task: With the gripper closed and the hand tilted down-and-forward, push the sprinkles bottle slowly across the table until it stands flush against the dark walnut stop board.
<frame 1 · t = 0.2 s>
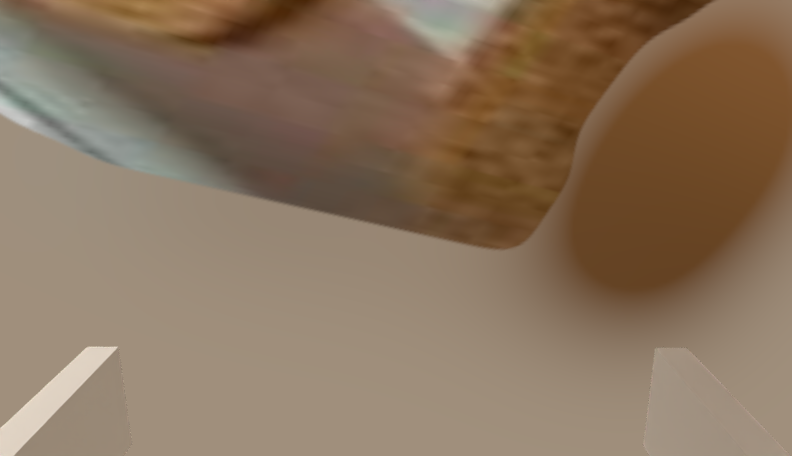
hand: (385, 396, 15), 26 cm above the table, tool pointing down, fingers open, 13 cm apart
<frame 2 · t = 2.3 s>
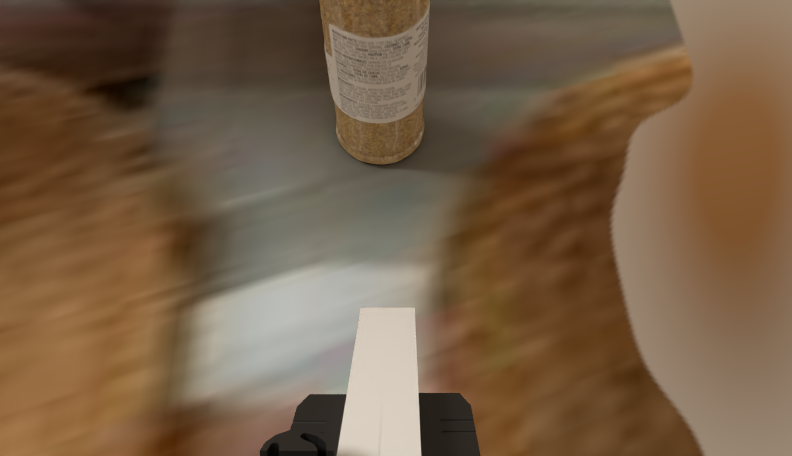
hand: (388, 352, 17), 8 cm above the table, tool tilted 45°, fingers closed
sprinkles bottle: (380, 134, 31), on the table
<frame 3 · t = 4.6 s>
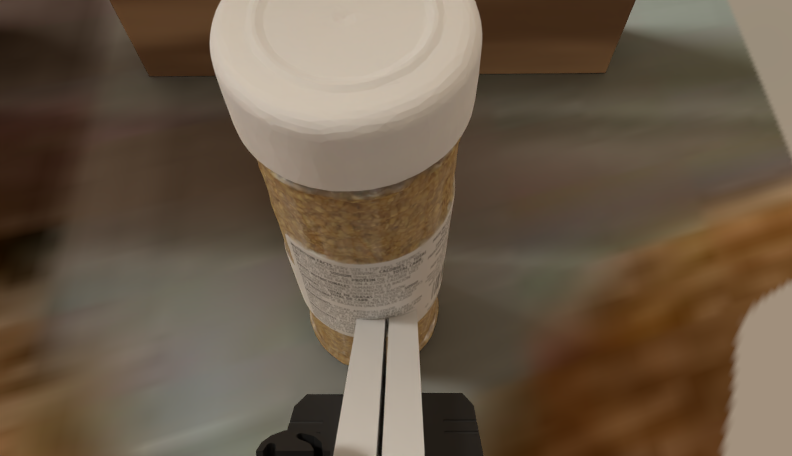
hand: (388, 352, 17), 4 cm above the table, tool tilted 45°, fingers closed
sprinkles bottle: (375, 313, 22), on the table, touching gripper
walnut stop board: (377, 49, 28), on the table
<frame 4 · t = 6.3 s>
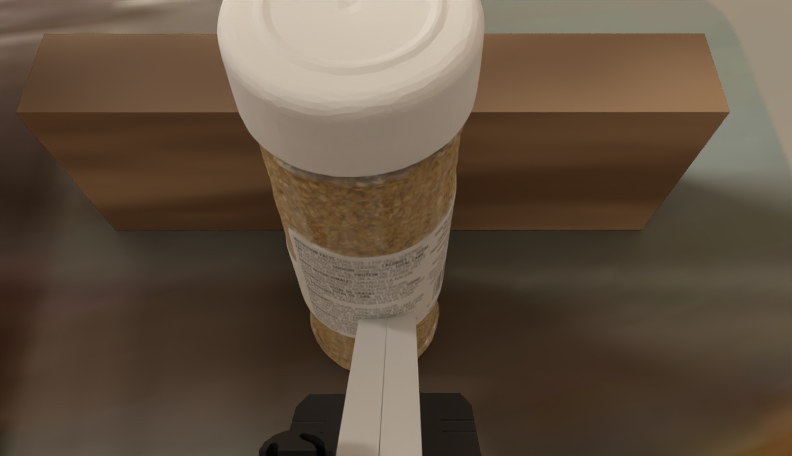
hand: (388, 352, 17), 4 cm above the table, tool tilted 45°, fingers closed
sprinkles bottle: (375, 319, 22), on the table, touching gripper
walnut stop board: (379, 196, 24), on the table
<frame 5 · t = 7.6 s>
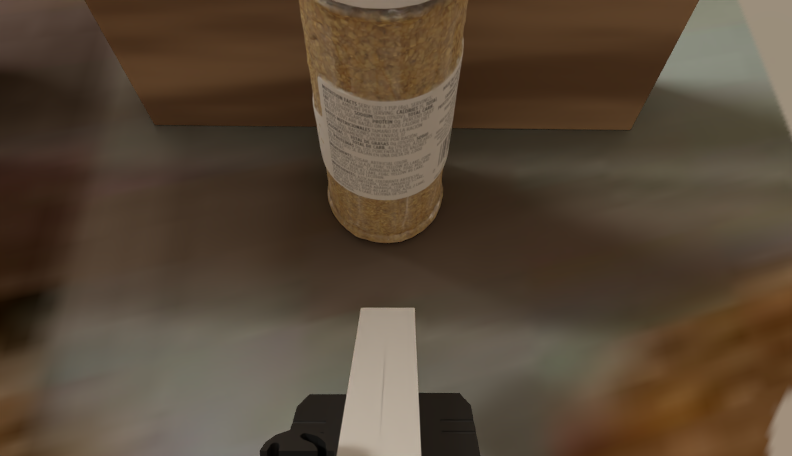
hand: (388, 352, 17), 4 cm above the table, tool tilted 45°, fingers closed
sprinkles bottle: (385, 199, 24), on the table
walnut stop board: (391, 99, 27), on the table
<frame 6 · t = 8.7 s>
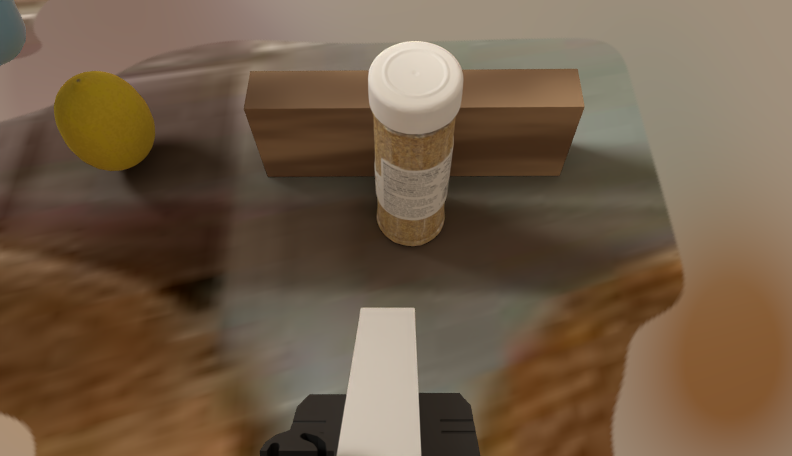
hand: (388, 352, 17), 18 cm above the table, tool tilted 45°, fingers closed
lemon: (132, 161, 44), on the table
sprinkles bottle: (410, 220, 41), on the table
walnut stop board: (412, 158, 43), on the table
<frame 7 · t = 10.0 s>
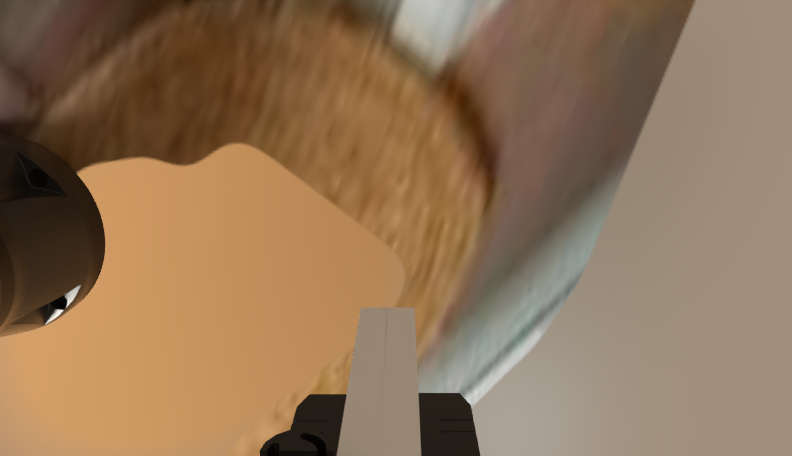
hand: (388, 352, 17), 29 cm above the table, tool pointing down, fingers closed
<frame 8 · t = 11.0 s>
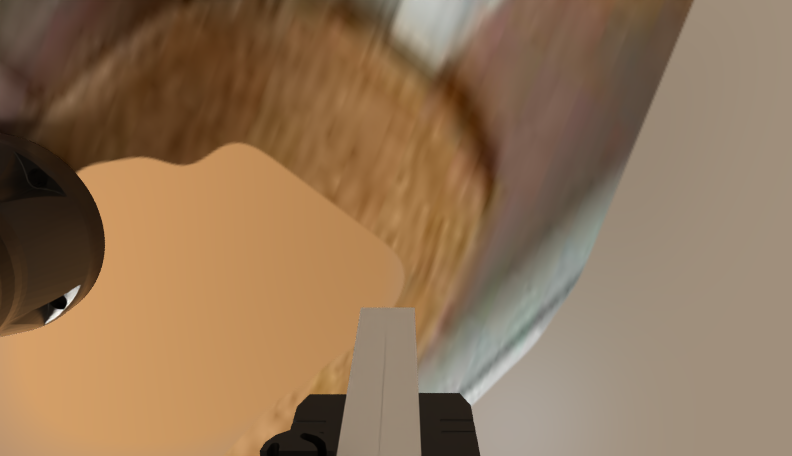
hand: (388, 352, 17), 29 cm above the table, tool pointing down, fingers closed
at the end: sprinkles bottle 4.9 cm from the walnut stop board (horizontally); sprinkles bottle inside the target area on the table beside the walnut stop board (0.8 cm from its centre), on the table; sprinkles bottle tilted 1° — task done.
